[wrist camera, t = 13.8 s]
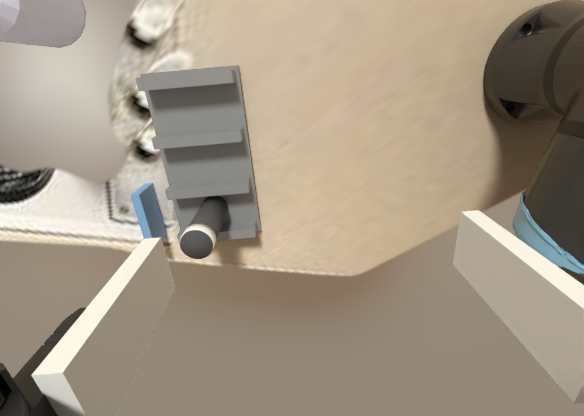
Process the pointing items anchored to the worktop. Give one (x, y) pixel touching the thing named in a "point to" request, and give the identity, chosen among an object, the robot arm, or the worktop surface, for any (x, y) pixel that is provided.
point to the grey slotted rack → (204, 144)
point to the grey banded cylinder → (204, 228)
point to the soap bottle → (41, 22)
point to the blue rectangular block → (148, 212)
